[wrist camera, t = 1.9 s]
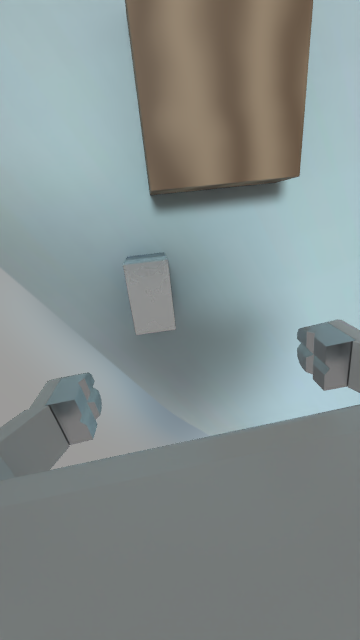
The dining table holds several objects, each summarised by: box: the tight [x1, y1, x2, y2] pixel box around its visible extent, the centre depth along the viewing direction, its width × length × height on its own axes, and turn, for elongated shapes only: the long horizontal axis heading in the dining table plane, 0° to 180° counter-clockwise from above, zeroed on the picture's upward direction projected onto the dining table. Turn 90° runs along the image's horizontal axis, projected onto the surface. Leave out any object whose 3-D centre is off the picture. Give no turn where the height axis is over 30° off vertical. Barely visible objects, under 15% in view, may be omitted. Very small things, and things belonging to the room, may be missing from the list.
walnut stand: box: [125, 0, 313, 195], centre depth 24 cm, size 15×15×5 cm
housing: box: [123, 252, 176, 335], centre depth 30 cm, size 5×8×6 cm, turn 6°
